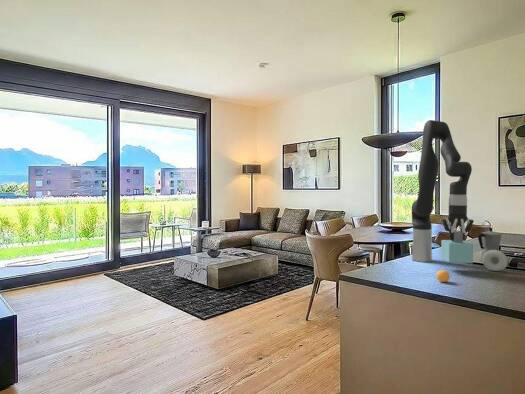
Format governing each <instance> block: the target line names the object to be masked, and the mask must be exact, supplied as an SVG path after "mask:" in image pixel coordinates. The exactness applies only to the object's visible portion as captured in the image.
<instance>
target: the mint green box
mask: <svg viewBox="0 0 525 394" xmlns="http://www.w3.org/2000/svg"><path fill="white" fill-rule="evenodd" d="M453 233H454V241H451V239H441V244H440V247H441V248H440V250H441V253H440V258H441V259H442V260H444V261H446V262H447V263H454V264H455V263H457V264H459V263H460V264H461V263H462V264H474V243H472V242H469V241H466V240H465V239H464V240H463V232H461V231H460V230H454V232H453Z"/></svg>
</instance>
